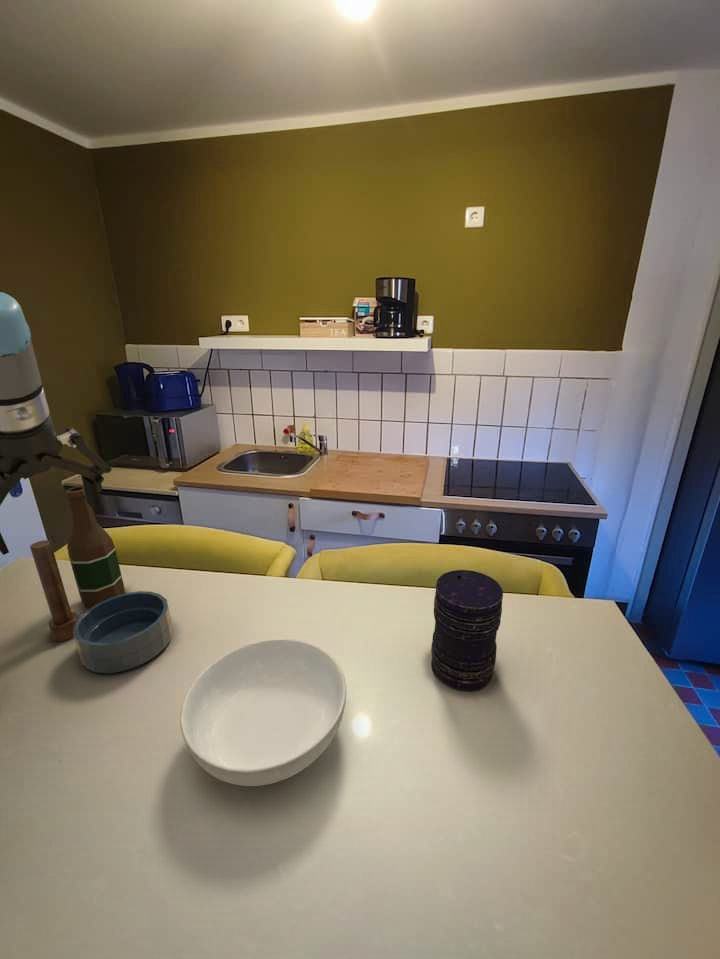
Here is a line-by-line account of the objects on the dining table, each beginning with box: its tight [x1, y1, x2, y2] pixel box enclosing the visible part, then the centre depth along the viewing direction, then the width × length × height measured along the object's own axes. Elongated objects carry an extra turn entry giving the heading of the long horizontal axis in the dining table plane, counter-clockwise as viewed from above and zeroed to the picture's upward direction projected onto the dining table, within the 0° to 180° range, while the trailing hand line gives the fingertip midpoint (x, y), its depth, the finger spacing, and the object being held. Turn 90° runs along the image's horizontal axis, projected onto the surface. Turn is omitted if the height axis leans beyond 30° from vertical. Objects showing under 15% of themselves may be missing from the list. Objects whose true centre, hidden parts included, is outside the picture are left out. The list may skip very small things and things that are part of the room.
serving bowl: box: [180, 638, 347, 787], centre depth 57 cm, size 21×21×7 cm
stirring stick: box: [29, 539, 79, 642], centre depth 74 cm, size 4×4×18 cm
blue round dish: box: [73, 590, 174, 674], centre depth 73 cm, size 14×14×6 cm
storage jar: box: [430, 569, 504, 693], centre depth 65 cm, size 10×10×15 cm
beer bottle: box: [64, 485, 126, 611], centre depth 82 cm, size 8×8×24 cm
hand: (51, 526), depth 69 cm, fingers open, 13 cm apart
